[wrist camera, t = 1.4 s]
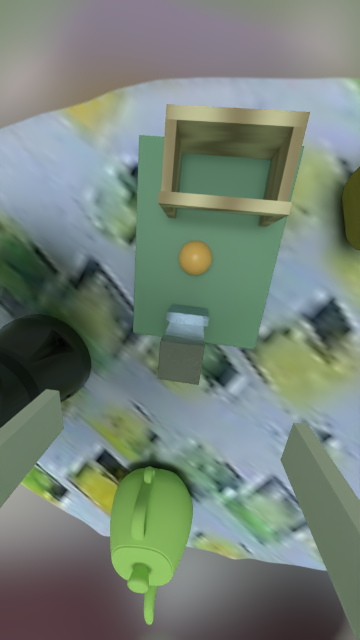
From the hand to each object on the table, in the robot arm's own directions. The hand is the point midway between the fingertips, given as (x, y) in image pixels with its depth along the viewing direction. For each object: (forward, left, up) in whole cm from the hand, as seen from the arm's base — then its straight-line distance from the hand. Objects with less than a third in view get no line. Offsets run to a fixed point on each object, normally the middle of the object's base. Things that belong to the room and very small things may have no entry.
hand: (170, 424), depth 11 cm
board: (+1, +10, -19) cm, 21 cm away
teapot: (-2, -37, -19) cm, 42 cm away
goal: (+2, +18, -19) cm, 26 cm away
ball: (0, +9, -16) cm, 18 cm away
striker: (0, 0, -17) cm, 17 cm away
